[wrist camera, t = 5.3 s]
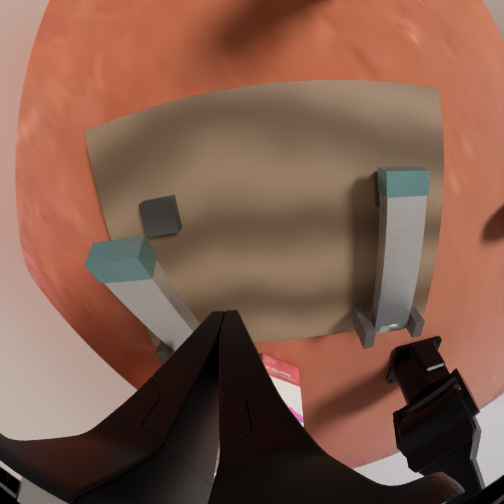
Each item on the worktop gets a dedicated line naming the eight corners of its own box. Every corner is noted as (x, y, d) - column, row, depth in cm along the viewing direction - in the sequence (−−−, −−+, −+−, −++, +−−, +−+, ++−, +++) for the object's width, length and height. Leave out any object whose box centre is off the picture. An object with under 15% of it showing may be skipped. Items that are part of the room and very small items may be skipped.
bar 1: (214, 340, 22) (213, 355, 21) (178, 341, 22) (177, 356, 21) (144, 234, 12) (137, 258, 11) (93, 243, 12) (84, 265, 11)
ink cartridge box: (260, 350, 26) (258, 489, 13) (299, 366, 27) (311, 494, 14) (221, 389, 30) (206, 501, 16) (256, 401, 31) (252, 508, 17)
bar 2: (401, 320, 20) (406, 331, 19) (367, 327, 21) (372, 338, 19) (418, 166, 15) (429, 170, 14) (377, 167, 15) (386, 171, 14)
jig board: (414, 304, 24) (438, 339, 19) (160, 333, 26) (143, 372, 21) (424, 90, 15) (467, 86, 10) (98, 129, 17) (55, 135, 13)
